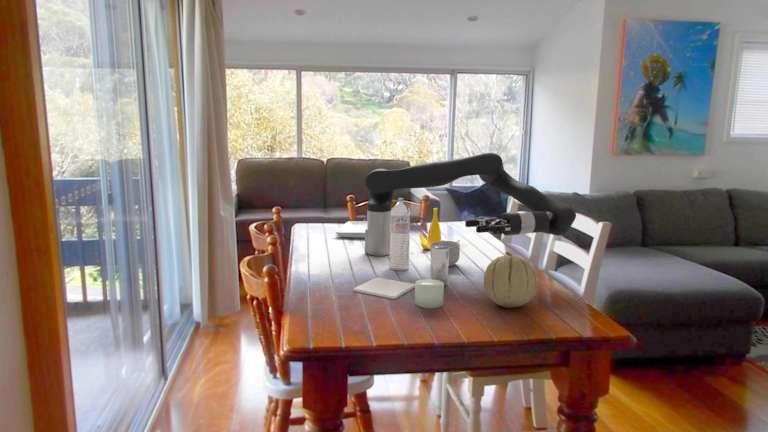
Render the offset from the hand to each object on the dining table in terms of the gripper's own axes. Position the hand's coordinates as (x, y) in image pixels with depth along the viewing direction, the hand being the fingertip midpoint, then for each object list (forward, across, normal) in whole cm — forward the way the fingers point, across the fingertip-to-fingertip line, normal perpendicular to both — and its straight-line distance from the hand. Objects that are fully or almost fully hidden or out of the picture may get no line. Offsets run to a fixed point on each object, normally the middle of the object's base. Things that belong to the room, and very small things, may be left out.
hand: (471, 226), depth 163 cm
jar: (+20, +17, +18) cm, 32 cm away
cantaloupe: (-1, +24, +18) cm, 30 cm away
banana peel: (-8, -49, +20) cm, 53 cm away
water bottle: (+18, -20, +18) cm, 33 cm away
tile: (+29, +2, +17) cm, 34 cm away
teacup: (0, -23, +19) cm, 30 cm away
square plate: (+15, -80, +20) cm, 84 cm away
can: (+11, 0, +18) cm, 21 cm away
